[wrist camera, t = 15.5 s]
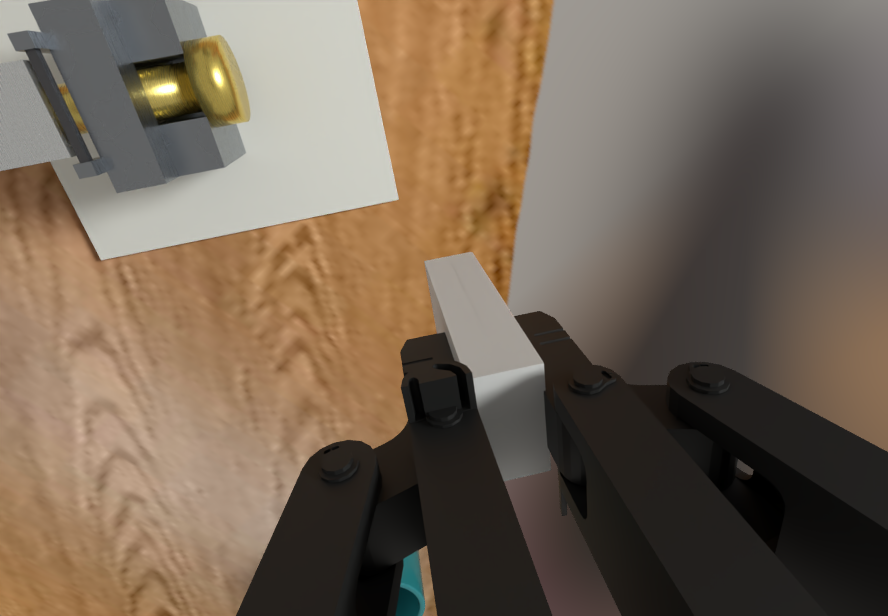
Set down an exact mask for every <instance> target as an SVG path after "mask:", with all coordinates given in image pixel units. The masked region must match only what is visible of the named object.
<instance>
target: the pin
mask: <svg viewBox="0 0 888 616" xmlns="http://www.w3.org/2000/svg"><path fill="white" fill-rule="evenodd" d="M183 54H184V61H185V62H180V63H174V64H169V65H163V66H158V67H152V68H146V69H141V70H136V71H137V73H138V76H139V78H140V81H141V83H142V86H143V88H144V91H145V93H146V95H147V98H148V100H149V103H150V105H151V108H152V110H153V113H154V115H155V118H156V120H161V119H166V118H171V117H177V116H182V115H188V114H193V113H198V112H204V114H205V115H206V117H207V118H208V120H209V121H210V122H211V123H212V124H213V125H214V126H215V127H222V126H228V125H233V124H238V123H243V122H248V121H249V120H250V105H249V100H248V95H247V91H246V87H245V84H244V81H243V77H242V74H241V72H240V69H239V66H238V64H237V61H236V59H235V57H234V54H233V52H232V50H231V48H230V46H229V45H228V43H227V41H226V40H225V39H224V37H223V36H221V35H215V36H209V37H203V38H198V39H192V40H186V41H185V42H184V46H183ZM57 85H58V88H59V90H60V92H61V94H62V96H63V98H64V100H65V102H66V104H67V106H68V108H69V111H70V113H71V115H72V117H73V119H74V121H75V123H76V125H77V127H78V129H79V131H80V134H85V133H88V131H87V129H86V127H85V125H84V122H83V120H82V118H81V116H80V114H79V112H78V110H77V108H76V105H75V103H74V101H73V99H72V97H71V95H70V93H69V91H68V88H67V86H66V84H65V83H63V84H57Z"/></svg>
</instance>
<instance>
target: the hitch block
mask: <svg viewBox="0 0 888 616" xmlns="http://www.w3.org/2000/svg"><path fill="white" fill-rule="evenodd" d="M28 6H29V8H30V10H31V12H32V14H33V16H34V18H35V20H36V23H37V25H38V27H39V29H40V31H41V32H36V31H29V30H26V31H20V32H14V33H8V34H7V35H8V37H9V39H10V41H11V43H12V45H13V47H14V49H15V51H18V52H26V54H27V56H28V58H29V60H30V62H31V64H32V66H33V68H34V70H35V72H36V74H37V76H38V78H39V81H40V83H41V85H42V87H43V89H44V91H45V93H46V95H47V97H48V99H49V101H50V103H51V105H52V107H53V109H54V111H55V113H56V115H57V117H58V119H59V121H60V123H61V125H62V127H63V129H64V131H65V133H66V135H67V138H68V140H69V142H70V144H71V146H72V148H73V150H74V152H75V154H76V156H77V158H78V160H79V162H80V163H77V164H74V165H73V167H74V169H75V171H76V173H77V175H78V177H79V179H82V178H87V177H93V176H98V175H100V174H103V173H105V172H107V173H108V176H109V178H110V180H111V182H112V184H113V186H114V188H115V190H116V193H121V192H126V191H131V190H136V189H142V188H147V187H152V186H157V185H162V184H167V183H169V182H170V181H172V180H174V179H176V178H177V177H179V176H184V175H189V174H194V173H200V172H205V171H210V170H215V169H220V168H225V167H227V166H228V165H229V164H231V163H232V162H234V161H235V160H237V159H238V158H240V157H241V156H243V155H244V154H246V151H245V148H244V145H243V142H242V139H241V136H240V133H239V130H238V127H237V124H233V125H228V126H222V127H215V126H214V125H213V124H212V123H211V122H210V121H209V120H208V118H207V117H206V115H205V114H204V112H198V113H193V114H188V115H182V116H177V117H171V118H166V119H161V120H156V118H155V115H154V113H153V110H152V108H151V105H150V103H149V100H148V98H147V95H146V93H145V91H144V88H143V86H142V83H141V81H140V78H139V76H138V73H137V71H136V70H141V69H146V68H152V67H158V66H163V65H169V64H174V63H180V62H185V61H184V54H183V46H184V42H185V41H186V40H192V39H198V38H203V37H207V35H206V32H205V29H204V26H203V23H202V20H201V17H200V14H199V11H198V8H197V6H195V5H193V4H190V3H188V2H186V1H183V0H47V1H41V2H35V3H29V4H28ZM42 53H47V54H52V57H53V59H54V61H55V63H56V65H57V67H58V69H59V71H60V74H61V76H62V78H63V80H64V82H65V84H66V86H67V88H68V91H69V93H70V95H71V97H72V99H73V101H74V103H75V105H76V108H77V110H78V112H79V114H80V116H81V118H82V120H83V122H84V125H85V127H86V129H87V131H88V133H89V135H90V137H91V139H92V142H93V144H94V146H95V148H96V150H97V152H98V154H99V156H100V157H96V158H93V159H92V157H91V154H90V152H89V150H88V148H87V146H86V144H85V142H84V140H83V138H82V136H81V134H80V131H79V129H78V127H77V125H76V123H75V121H74V119H73V117H72V115H71V113H70V111H69V108H68V106H67V104H66V102H65V100H64V98H63V96H62V94H61V92H60V90H59V88H58V85H57V83H56V81H55V79H54V77H53V75H52V73H51V71H50V69H49V67H48V64H47V62H46V60H45V58H44V56H43V54H42Z"/></svg>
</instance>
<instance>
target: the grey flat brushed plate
mask: <svg viewBox="0 0 888 616" xmlns="http://www.w3.org/2000/svg"><path fill="white" fill-rule="evenodd" d="M74 156H76V154H75V152H74V150H73V148H72V146H71V144H70V142H69V140H68V138H67V135H66V133H65V131H64V129H63V127H62V125H61V123H60V121H59V119H58V117H57V115H56V113H55V111H54V109H53V107H52V105H51V103H50V101H49V99H48V97H47V95H46V93H45V91H44V89H43V87H42V85H41V83H40V81H39V78H38V76H37V74H36V72H35V70H34V68H33V66H32V64H31V62H30V60H19V61H12V62H6V63H0V171H3V170H8V169H13V168H18V167H24V166H29V165H34V164H39V163H44V162H49V161H55V160H60V159H65V158H70V157H74Z"/></svg>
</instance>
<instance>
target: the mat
mask: <svg viewBox="0 0 888 616" xmlns="http://www.w3.org/2000/svg"><path fill="white" fill-rule="evenodd" d="M41 1H47V0H0V63H6V62H12V61H19V60H29V58H28V56H27V54H26V52H18V51H15V49H14V47H13V45H12V43H11V41H10V39H9V37H8V35H7V34H8V33H14V32H20V31H26V30H29V31H36V32H41V31H40V29H39V27H38V25H37V23H36V20H35V18H34V16H33V14H32V12H31V10H30V8H29V6H28V4H29V3H35V2H41ZM183 1H186V2H188V3H190V4H193V5H195V6H197V8H198V11H199V14H200V17H201V20H202V23H203V26H204V29H205V32H206V35H207V37H209V36H215V35H221V36H223V37H224V39H225V40H226V41H227V43H228V45H229V46H230V48H231V50H232V52H233V54H234V57H235V59H236V61H237V64H238V66H239V69H240V72H241V74H242V77H243V81H244V84H245V87H246V91H247V95H248V100H249V105H250V120H249V121H248V122H243V123H238V124H237V127H238V130H239V133H240V136H241V139H242V142H243V145H244V148H245V151H246V154H244V155H243V156H241V157H240V158H238V159H237V160H235V161H234V162H232V163H231V164H229V165H228V166H227V167H225V168H220V169H215V170H210V171H205V172H200V173H194V174H189V175H184V176H179V177H177V178H176V179H174V180H172V181H170V182H169V183H167V184H162V185H157V186H152V187H147V188H142V189H136V190H131V191H126V192H121V193H116V190H115V188H114V186H113V184H112V182H111V180H110V178H109V176H108V173H107V172H105V173H103V174H100V175H98V176H93V177H87V178H82V179H79V177H78V175H77V173H76V171H75V169H74V167H73V165H74V164H77V163H80V162H79V160H78V158H77V156H74V157H70V158H65V159H60V160H55V161H50V162H51V164H52V166H53V168H54V170H55V172H56V174H57V176H58V178H59V180H60V182H61V184H62V186H63V188H64V189H65V191H66V193H67V195H68V197H69V199H70V201H71V203H72V205H73V207H74V209H75V211H76V213H77V215H78V217H79V218H80V220H81V222H82V224H83V226H84V228H85V230H86V232H87V234H88V236H89V238H90V240H91V242H92V244H93V245H94V247H95V249H96V251H97V253H98V255H99V257H100V259H101V260H105V259H110V258H114V257H119V256H124V255H129V254H134V253H139V252H144V251H149V250H154V249H159V248H164V247H169V246H173V245H178V244H183V243H188V242H193V241H198V240H203V239H208V238H213V237H218V236H223V235H228V234H232V233H237V232H242V231H247V230H252V229H257V228H262V227H267V226H272V225H277V224H282V223H286V222H291V221H296V220H301V219H306V218H311V217H316V216H321V215H326V214H331V213H336V212H341V211H345V210H350V209H355V208H360V207H365V206H370V205H375V204H380V203H385V202H390V201H395V200H399V199H398V194H397V189H396V184H395V180H394V175H393V170H392V165H391V160H390V156H389V151H388V146H387V141H386V136H385V132H384V127H383V122H382V117H381V112H380V108H379V103H378V98H377V93H376V89H375V84H374V79H373V74H372V69H371V65H370V60H369V55H368V50H367V45H366V41H365V36H364V31H363V26H362V21H361V17H360V12H359V7H358V2H357V0H183ZM42 54H43V56H44V58H45V60H46V62H47V64H48V67H49V69H50V71H51V73H52V75H53V77H54V79H55V81H56V83H57V84H63V83H65V82H64V80H63V78H62V76H61V74H60V71H59V69H58V67H57V65H56V63H55V61H54V59H53V57H52V54H47V53H42ZM81 136H82V138H83V140H84V142H85V144H86V146H87V148H88V150H89V152H90V154H91V157H92V159H93V158H96V157H100V156H99V154H98V152H97V150H96V148H95V146H94V144H93V142H92V139H91V137H90V135H89V133H85V134H81Z"/></svg>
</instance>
